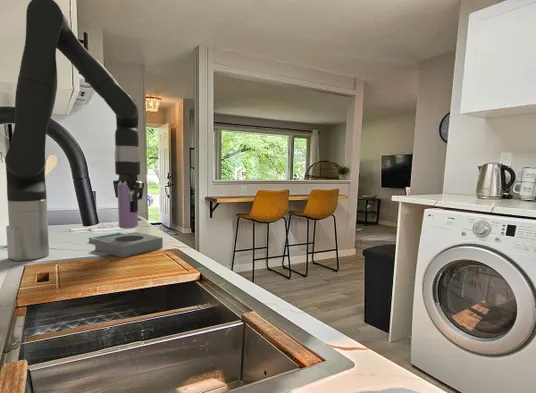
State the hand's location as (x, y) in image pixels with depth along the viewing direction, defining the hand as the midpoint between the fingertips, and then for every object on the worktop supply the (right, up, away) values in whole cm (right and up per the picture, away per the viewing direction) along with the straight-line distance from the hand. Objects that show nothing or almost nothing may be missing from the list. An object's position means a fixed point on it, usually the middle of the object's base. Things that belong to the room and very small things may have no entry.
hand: (129, 211), depth 105 cm
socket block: (0, -13, +1) cm, 13 cm away
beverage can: (-1, -6, +1) cm, 6 cm away
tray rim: (-10, -11, +11) cm, 19 cm away
